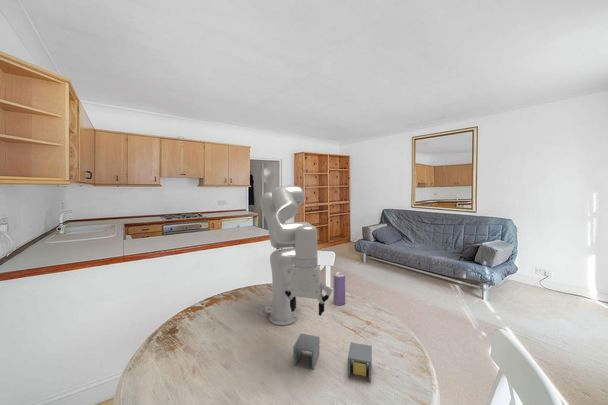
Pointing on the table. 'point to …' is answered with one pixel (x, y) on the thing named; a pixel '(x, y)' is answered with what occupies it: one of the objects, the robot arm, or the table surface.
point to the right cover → (360, 356)
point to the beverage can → (339, 288)
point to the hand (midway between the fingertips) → (307, 311)
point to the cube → (359, 368)
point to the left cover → (306, 348)
